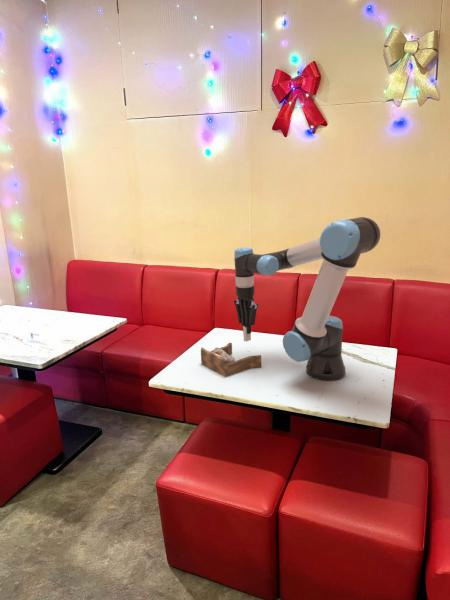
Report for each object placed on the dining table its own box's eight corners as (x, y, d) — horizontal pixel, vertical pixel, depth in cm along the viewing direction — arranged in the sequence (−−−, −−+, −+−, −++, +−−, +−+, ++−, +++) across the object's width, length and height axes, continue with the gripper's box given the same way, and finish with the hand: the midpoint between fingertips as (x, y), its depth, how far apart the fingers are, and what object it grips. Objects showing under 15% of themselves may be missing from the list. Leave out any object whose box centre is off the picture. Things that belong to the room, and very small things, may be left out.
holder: (262, 367, 175) (262, 349, 173) (229, 379, 165) (228, 361, 163) (230, 352, 191) (230, 336, 189) (198, 363, 180) (197, 346, 178)
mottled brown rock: (233, 369, 172) (219, 350, 170) (217, 375, 178) (202, 357, 176) (241, 358, 178) (227, 339, 176) (224, 364, 184) (211, 346, 182)
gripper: (262, 286, 172) (264, 341, 178) (241, 282, 182) (243, 334, 188) (248, 289, 167) (251, 346, 173) (227, 285, 177) (230, 339, 183)
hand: (247, 340), depth 180 cm, fingers closed
